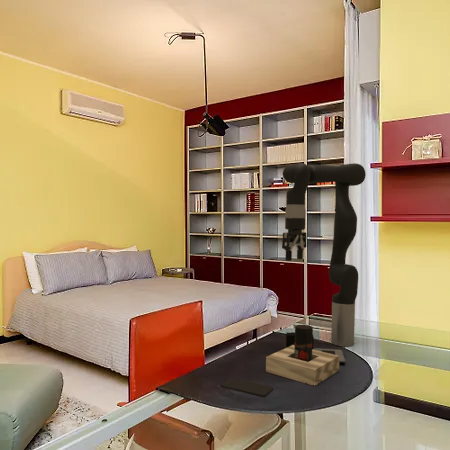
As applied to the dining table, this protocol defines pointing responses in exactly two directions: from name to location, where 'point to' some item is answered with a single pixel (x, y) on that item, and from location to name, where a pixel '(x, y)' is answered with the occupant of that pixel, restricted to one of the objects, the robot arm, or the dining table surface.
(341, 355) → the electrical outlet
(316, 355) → the holder
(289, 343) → the digital camera
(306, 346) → the deodorant
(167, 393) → the dining table surface
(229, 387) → the phone
